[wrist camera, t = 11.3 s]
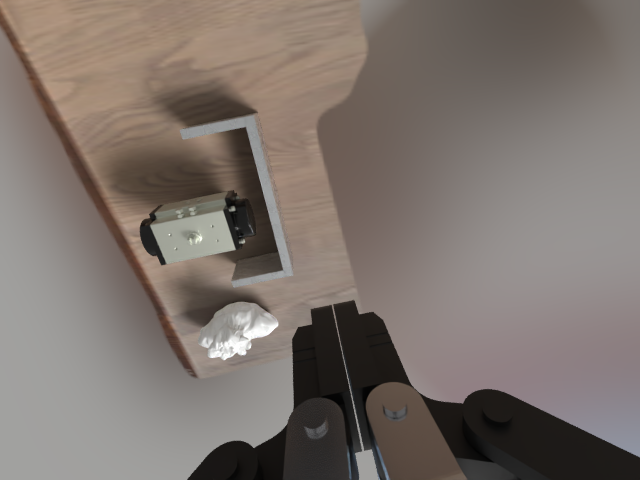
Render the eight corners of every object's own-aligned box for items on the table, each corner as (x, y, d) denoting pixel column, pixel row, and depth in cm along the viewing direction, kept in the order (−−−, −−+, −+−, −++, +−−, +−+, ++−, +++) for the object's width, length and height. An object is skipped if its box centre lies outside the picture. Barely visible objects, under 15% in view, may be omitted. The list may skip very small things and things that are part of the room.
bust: (277, 295, 54) (261, 289, 43) (287, 342, 52) (273, 349, 41) (206, 312, 54) (172, 311, 43) (213, 360, 52) (179, 371, 41)
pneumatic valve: (261, 213, 46) (253, 250, 35) (178, 230, 46) (144, 273, 35) (250, 174, 44) (238, 201, 33) (162, 192, 44) (121, 225, 33)
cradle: (193, 125, 41) (179, 129, 35) (258, 112, 41) (253, 115, 35) (239, 265, 49) (233, 287, 43) (292, 254, 49) (293, 275, 44)
